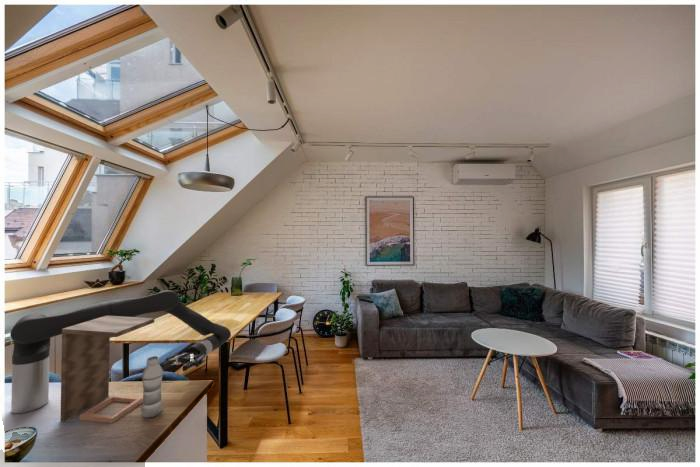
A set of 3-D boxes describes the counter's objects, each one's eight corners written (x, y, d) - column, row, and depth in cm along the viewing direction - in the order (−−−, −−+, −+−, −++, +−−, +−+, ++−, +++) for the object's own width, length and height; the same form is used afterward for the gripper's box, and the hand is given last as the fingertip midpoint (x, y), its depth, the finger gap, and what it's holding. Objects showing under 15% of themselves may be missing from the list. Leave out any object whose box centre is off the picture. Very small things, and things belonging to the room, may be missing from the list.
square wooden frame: (113, 398, 112) (113, 395, 112) (142, 401, 111) (142, 397, 111) (79, 419, 100) (79, 415, 100) (112, 423, 99) (112, 418, 99)
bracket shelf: (105, 395, 115) (106, 315, 115) (152, 399, 112) (154, 318, 112) (60, 421, 99) (62, 328, 99) (114, 427, 97) (116, 332, 96)
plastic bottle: (138, 422, 99) (139, 363, 99) (143, 410, 106) (144, 355, 106) (160, 418, 102) (161, 361, 102) (164, 407, 108) (165, 353, 108)
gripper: (184, 341, 131) (156, 357, 115) (214, 343, 129) (190, 359, 113) (184, 358, 131) (156, 376, 115) (214, 360, 129) (190, 378, 113)
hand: (173, 368), depth 114 cm, fingers open, 8 cm apart
